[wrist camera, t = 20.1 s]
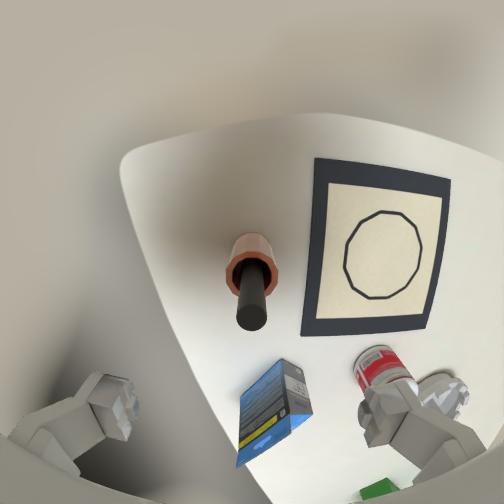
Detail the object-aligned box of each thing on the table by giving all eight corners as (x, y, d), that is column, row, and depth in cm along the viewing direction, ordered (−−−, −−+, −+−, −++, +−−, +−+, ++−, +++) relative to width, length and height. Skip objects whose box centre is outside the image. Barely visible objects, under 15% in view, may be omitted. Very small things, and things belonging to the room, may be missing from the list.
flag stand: (412, 372, 33) (504, 520, 4) (465, 363, 34) (554, 471, 5) (383, 427, 37) (436, 560, 8) (436, 415, 37) (497, 521, 8)
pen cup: (233, 231, 29) (226, 250, 21) (272, 233, 29) (279, 252, 21) (232, 269, 29) (225, 299, 22) (270, 270, 30) (276, 301, 22)
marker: (244, 245, 28) (236, 304, 15) (261, 246, 28) (267, 305, 15) (244, 261, 29) (236, 331, 15) (260, 262, 29) (266, 331, 15)
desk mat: (314, 158, 27) (315, 157, 26) (449, 179, 27) (451, 179, 26) (300, 334, 31) (300, 337, 31) (423, 327, 32) (425, 329, 31)
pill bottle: (381, 380, 34) (410, 432, 23) (345, 378, 33) (370, 436, 23) (400, 345, 32) (438, 395, 21) (364, 341, 32) (399, 397, 21)
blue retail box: (261, 407, 35) (263, 478, 23) (239, 396, 34) (234, 469, 22) (303, 369, 33) (321, 443, 21) (280, 356, 32) (291, 432, 20)
